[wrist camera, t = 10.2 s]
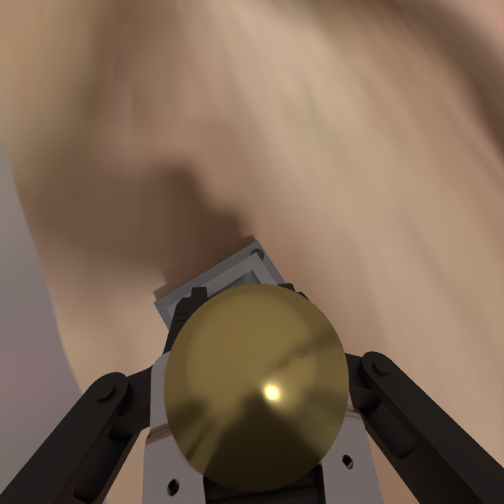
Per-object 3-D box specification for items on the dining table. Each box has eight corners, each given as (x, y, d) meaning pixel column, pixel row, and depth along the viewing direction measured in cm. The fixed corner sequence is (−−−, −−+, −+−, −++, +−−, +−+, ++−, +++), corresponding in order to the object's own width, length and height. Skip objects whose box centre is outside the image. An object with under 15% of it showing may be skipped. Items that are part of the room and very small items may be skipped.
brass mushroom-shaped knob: (249, 282, 16) (282, 252, 6) (281, 333, 16) (383, 401, 5) (198, 315, 15) (128, 350, 5) (230, 370, 15) (229, 545, 4)
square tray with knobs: (256, 242, 19) (259, 234, 17) (318, 337, 18) (332, 343, 15) (157, 302, 17) (144, 303, 15) (218, 413, 16) (216, 435, 13)
